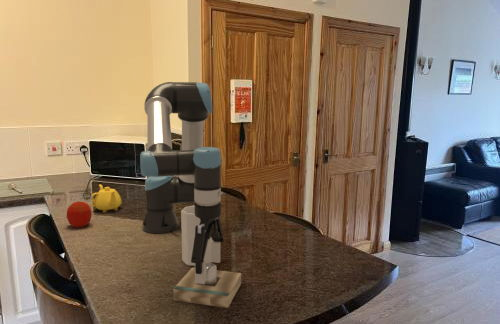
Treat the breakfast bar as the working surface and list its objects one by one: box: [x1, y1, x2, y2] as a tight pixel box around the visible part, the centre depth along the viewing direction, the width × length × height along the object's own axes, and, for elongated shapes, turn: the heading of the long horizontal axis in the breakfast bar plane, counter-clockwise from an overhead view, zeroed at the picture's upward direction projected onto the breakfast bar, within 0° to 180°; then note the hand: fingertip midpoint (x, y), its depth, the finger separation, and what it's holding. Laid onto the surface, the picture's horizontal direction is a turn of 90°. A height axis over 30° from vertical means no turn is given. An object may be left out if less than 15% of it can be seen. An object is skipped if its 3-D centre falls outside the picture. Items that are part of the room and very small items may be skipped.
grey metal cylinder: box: [201, 262, 217, 287], centre depth 112 cm, size 5×5×8 cm
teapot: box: [90, 183, 123, 214], centre depth 191 cm, size 20×15×12 cm
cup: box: [180, 204, 214, 267], centre depth 133 cm, size 11×11×18 cm
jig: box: [172, 266, 242, 309], centre depth 113 cm, size 16×14×4 cm
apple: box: [66, 200, 93, 229], centre depth 167 cm, size 10×10×12 cm
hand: (208, 272), depth 112 cm, fingers open, 13 cm apart
